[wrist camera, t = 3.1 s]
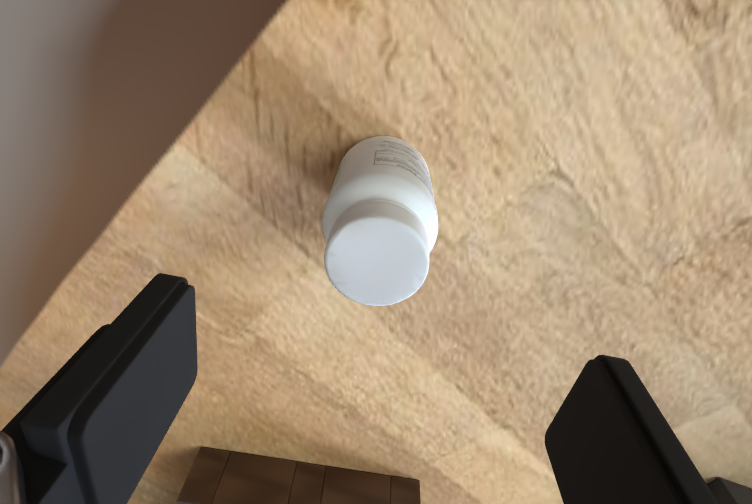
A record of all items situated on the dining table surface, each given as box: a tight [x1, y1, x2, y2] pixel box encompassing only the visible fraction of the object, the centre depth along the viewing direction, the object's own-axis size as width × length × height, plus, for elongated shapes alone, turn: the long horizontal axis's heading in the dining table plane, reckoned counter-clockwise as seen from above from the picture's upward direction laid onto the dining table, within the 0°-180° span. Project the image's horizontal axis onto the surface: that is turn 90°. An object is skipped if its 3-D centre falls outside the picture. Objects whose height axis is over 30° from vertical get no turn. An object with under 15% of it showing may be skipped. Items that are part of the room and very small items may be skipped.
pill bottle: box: [322, 136, 438, 306], centre depth 17 cm, size 4×4×8 cm
